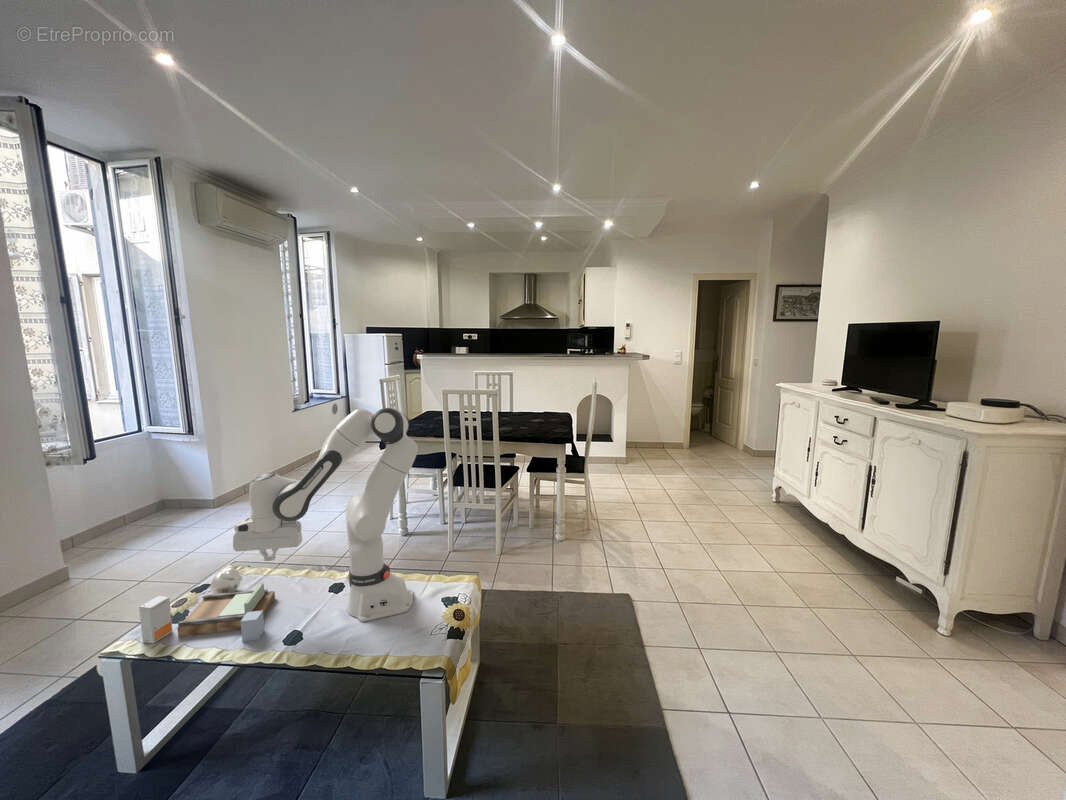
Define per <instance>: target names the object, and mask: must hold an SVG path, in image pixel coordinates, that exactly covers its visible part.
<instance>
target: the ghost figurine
mask: <svg viewBox="0 0 1066 800" xmlns="http://www.w3.org/2000/svg"><path fill="white" fill-rule="evenodd" d="M242 581H243V576H242V574H241V573H240V571H239V570H238V569H236V568H233V567H228V568H225V569H224V570H223V571H220V572H218V573H217V574H216V575H215V576H214V577H213V578H212V580H211V583H210V590H211V592H212V594H222V593H233V592H237V590H238V588H239V587H240V585H241V582H242Z"/></svg>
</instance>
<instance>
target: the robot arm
mask: <svg viewBox="0 0 1066 800" xmlns="http://www.w3.org/2000/svg"><path fill="white" fill-rule="evenodd" d="M409 429H410V421H409V418H408V416H406V414H404V413H403V412H402V411H400V410H398V409H397V408H396V409H395V408H391V407H385V408H380V409H378V410H377V411H376V412H375V413H372V412H371V411H369V410H367V409H365V408H356V409H354V410H353V411H352V412H350V413H349V414H347V415H346V416H345V417H344V418H343V419H342V420H341V421H339V422H338V424H337V425H336V426H335V427H333V429H332V430H331V431H330V433H329V434H328V435H327V437H326V439H325V440H324V442H323V445H322V447H321V449H320V452H319V455H318V457H317V459H316V460H315V462H314V464H313V465H312V466H311V467H310V469H309V470H308V471H307V472H306V473H305V474H304V476H303V477H302V478H300V479H294V478H289V477H284V476H282V475H279V474H277V473H276V472H267V473H263V474H260V475H259V476H256V477H255V478H253V479H252V480H251V482H250V483H249V488H248V489H249V491H248V495H249V496H248V497H249V499H248V500H249V505H250V508H251V512H250V516H248V517H246V518H243V519H242V520H241V521H239V522H238V523H236V525H235V526H234V529H233V530H234V532H235V533H234V534H233V537H232V548H233V550H234V551H235V552H249V551H250V552H251V551H259V554H261V556H262V557H263V562H270V561H271V562H272V561H275V560H276V558H277V557H276V554H277V552H278V550H279V549H287V548H289V549H290V548H298V547H299V546H300V545H301V544H302V542H303V534H302V523H301V522H300V521H298V520H300V519H301V518H302V519H303V517H304V516H305V515H306V514H307V512H308V509H309V508H310V503H311V500H312V499H313V497H314V496H315V494H316V493H317V492H318V491H319V490H320V488H322V487H323V485H324V484H325V483H326V482H327V480H329V478H330V477H331V476H332V475H333V474H334V473H335V472H336V471H337V470H338V469H339V468H340V467H342V466H343V465H344V464H345V463H346V462H347V461H349V459H351V457H353V456H354V455H355V454H356V453H357V452H358V451H359V450H360V449H361V448H362V447H363V445H364V444H365V443H366V442H367V441H368V440H369V439H370V438H371V437H374V436H376V437H377V438H379V439H380V441H381V442H383V444H385V448H384V451H383V453H382V454H381V456H380V458H379V459H378V460H377V463H376V465H375V466H374V467H373V470H372V472H371V473H370V474H369V476H368V478H367V481H366V485H365V488H364V490H363V492H360V493H356V494H354V495H353V496H351V497H350V498H349V499H348V501H347V504H346V507H345V522H346V531H347V541H348V550H349V571H348V585H349V588H350V589H349V597H348V603H347V607H346V612H347V613H348V615H350V616H352V617H355V618H357V619H358V621H360V622H368V621H373V620H377V619H381V618H386V617H390V616H394V615H399V614H404V613H406V612H408V611H409V610H410V609H411V607H412V605H413V603H414V592H413V590H412V588H410V587H407V585H406V581H405V580H404V579H403V578H402V577H400V576H398V575H396V574H393V573H392V572H391V569H390V568H391V567H390V563H387V564H386V563H385V561H384V543H383V537H382V536H383V533H384V532H385V530H386V523H387V520H388V517H389V515H390V512H391V510H392V507H393V504H394V502H395V499H396V497H397V494H398V492H399V490H400V488H401V487H402V484H403V483H404V481H405V479H406V477H407V476H408V474H409V473H410V470H411V469H412V467H413V464H414V463H415V460H416V457H417V454H418V450H419V447H418V444H417V443H416V441H415V440H414V439H412V438H411V437H409V436H408V435H407V434H408V432H409ZM267 550H271V552H272V553H268V551H267Z"/></svg>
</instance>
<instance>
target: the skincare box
mask: <svg viewBox="0 0 1066 800" xmlns="http://www.w3.org/2000/svg"><path fill="white" fill-rule="evenodd" d="M138 608H139V609H138V610H139V617H140V618H139V620H140V628H141V638H142V642H143V643H148V644H152V645H153V644H155V643H156V642H158V641H159V640H161V639H163V638H164V637H166V636H167V635H169V634H171V633H173V622H172V612H171V601H170V596H163V595H158V596H156V597H154V598H152V599H150V600H149V601H146V602H145V603H144V604H142V605H140V606H139V607H138Z"/></svg>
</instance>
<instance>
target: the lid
mask: <svg viewBox="0 0 1066 800" xmlns="http://www.w3.org/2000/svg"><path fill="white" fill-rule="evenodd" d="M264 590H265V585H264V582H259V584H258V585H257V586H256V588H254V590H252V591H253V593H246V594H236V595H235V596H234V598H233V599H232V600H231V601H230V602H229V604H228V605H227V606H226V607H225V608H224V610H223V611H222V612H221V613H220V614H219V616H218V617H224V616H234V615H243V614H246V613H247V612H252V610H253V609H254V608H255V606H256V605H257V604H258V602H259V601H260V599H261V598H262V597H263V595H264Z"/></svg>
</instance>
